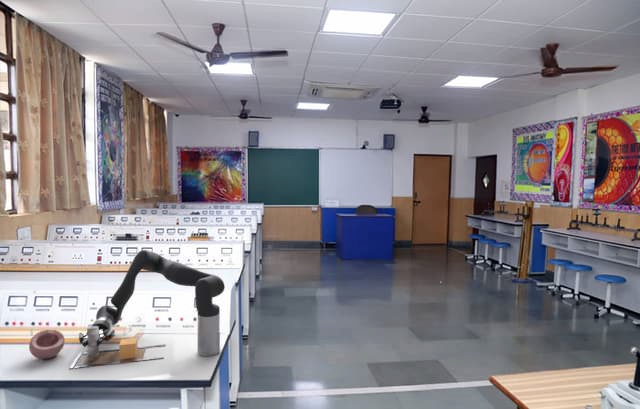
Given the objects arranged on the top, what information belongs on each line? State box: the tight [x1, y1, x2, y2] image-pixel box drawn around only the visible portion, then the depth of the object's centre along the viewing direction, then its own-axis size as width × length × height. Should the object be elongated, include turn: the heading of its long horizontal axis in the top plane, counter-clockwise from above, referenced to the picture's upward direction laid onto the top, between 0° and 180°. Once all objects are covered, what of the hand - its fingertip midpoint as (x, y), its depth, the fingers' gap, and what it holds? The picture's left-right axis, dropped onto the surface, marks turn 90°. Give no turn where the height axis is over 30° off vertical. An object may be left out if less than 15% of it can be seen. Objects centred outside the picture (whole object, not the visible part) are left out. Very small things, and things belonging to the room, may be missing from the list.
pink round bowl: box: [28, 329, 66, 360], centre depth 161 cm, size 12×12×11 cm
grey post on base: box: [81, 325, 146, 366], centre depth 160 cm, size 22×10×14 cm, turn 108°
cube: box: [118, 337, 138, 359], centre depth 162 cm, size 6×6×6 cm
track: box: [68, 343, 167, 370], centre depth 161 cm, size 34×14×2 cm, turn 108°
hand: (91, 343), depth 155 cm, fingers closed on grey post on base, 4 cm apart
